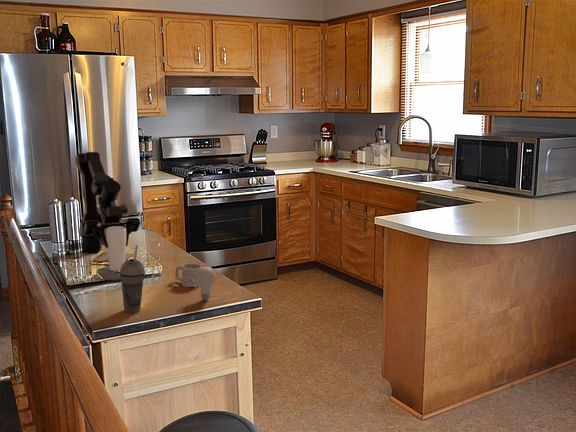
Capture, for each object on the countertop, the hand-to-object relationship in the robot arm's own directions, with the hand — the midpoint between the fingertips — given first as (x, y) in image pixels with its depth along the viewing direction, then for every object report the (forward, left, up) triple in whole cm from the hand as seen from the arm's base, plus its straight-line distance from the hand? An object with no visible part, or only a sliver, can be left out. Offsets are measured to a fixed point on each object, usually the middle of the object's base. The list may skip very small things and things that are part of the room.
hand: (117, 246), depth 205 cm
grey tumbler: (0, +1, -9) cm, 9 cm away
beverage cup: (+13, -33, -11) cm, 37 cm away
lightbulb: (+33, -21, -11) cm, 41 cm away
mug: (+25, -5, -11) cm, 28 cm away
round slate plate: (-1, +1, -11) cm, 11 cm away
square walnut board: (-7, +19, -11) cm, 23 cm away
